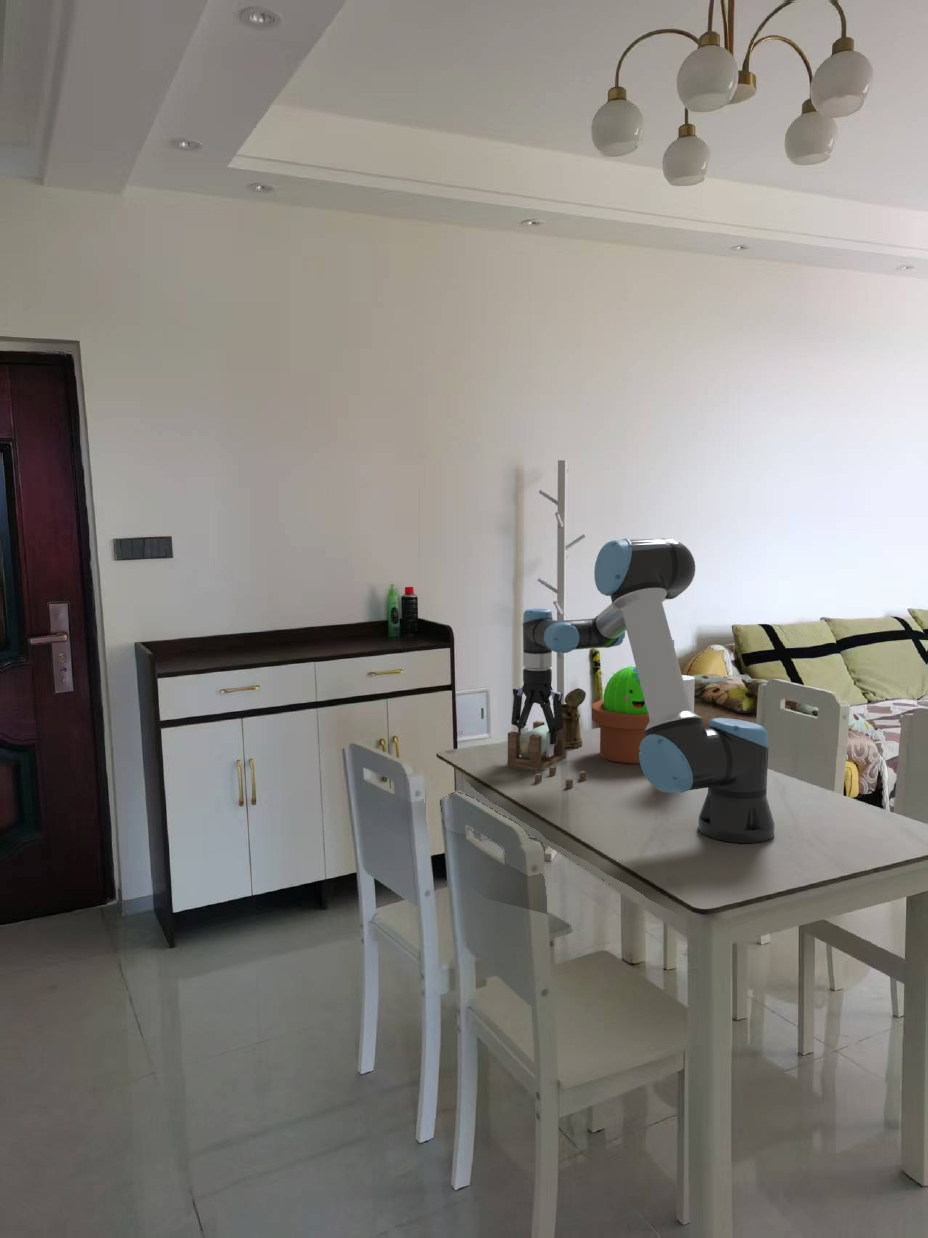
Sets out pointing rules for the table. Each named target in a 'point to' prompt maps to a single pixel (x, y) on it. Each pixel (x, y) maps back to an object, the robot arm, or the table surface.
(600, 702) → the potted cactus
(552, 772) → the wooden cubes
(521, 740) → the paper roll
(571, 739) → the wooden mug
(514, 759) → the roll holder
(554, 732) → the robot arm
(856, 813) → the table surface
